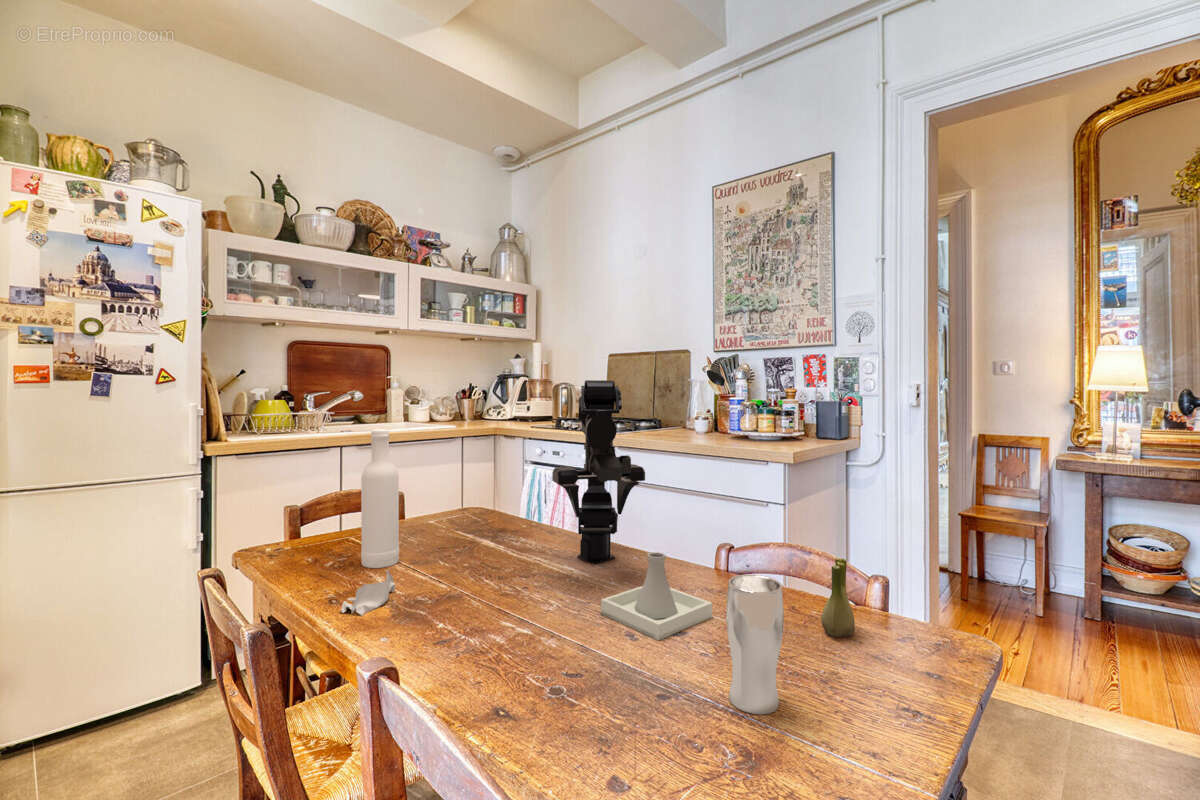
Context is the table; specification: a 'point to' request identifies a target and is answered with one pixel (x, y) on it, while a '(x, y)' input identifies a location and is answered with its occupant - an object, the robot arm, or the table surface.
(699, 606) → the tray
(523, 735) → the table surface
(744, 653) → the beer glass
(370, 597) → the wrapped candy
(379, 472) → the bottle
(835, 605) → the fennel bulb
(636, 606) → the flask
